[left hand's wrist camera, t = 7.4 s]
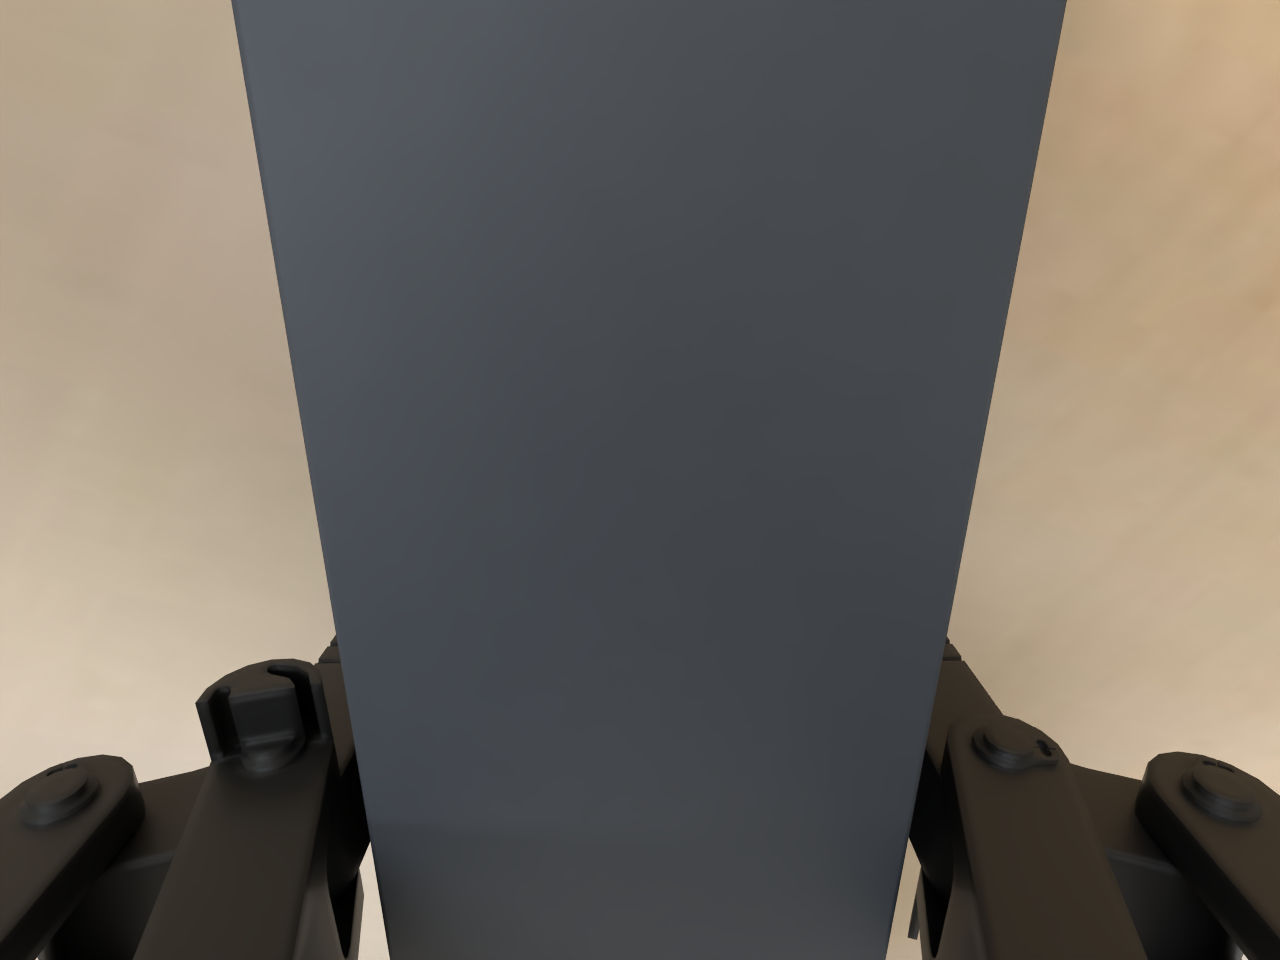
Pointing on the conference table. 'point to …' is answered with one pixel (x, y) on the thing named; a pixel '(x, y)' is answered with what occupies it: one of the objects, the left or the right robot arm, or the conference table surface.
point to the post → (643, 439)
